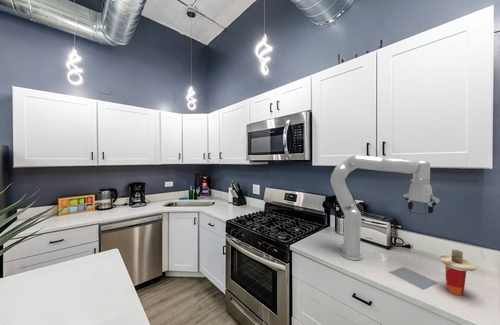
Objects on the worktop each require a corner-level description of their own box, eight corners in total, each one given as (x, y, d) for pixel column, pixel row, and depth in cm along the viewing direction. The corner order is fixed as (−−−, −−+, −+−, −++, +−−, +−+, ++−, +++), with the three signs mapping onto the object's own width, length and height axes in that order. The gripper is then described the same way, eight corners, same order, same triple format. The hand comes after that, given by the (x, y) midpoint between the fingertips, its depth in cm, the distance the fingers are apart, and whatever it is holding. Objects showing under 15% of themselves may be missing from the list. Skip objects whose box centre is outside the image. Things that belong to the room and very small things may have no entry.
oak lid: (434, 260, 98) (434, 248, 97) (446, 255, 103) (446, 244, 102) (469, 273, 87) (469, 259, 87) (480, 267, 92) (481, 254, 92)
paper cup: (453, 287, 99) (454, 259, 99) (471, 297, 91) (472, 268, 91) (438, 287, 99) (439, 259, 98) (455, 298, 91) (456, 268, 91)
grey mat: (388, 273, 111) (388, 272, 110) (403, 267, 116) (403, 266, 116) (423, 290, 96) (423, 289, 96) (438, 283, 102) (438, 282, 102)
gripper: (400, 180, 122) (399, 208, 123) (436, 184, 107) (435, 215, 107) (407, 180, 125) (407, 207, 126) (443, 183, 110) (442, 214, 110)
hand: (420, 211), depth 116 cm, fingers open, 9 cm apart
